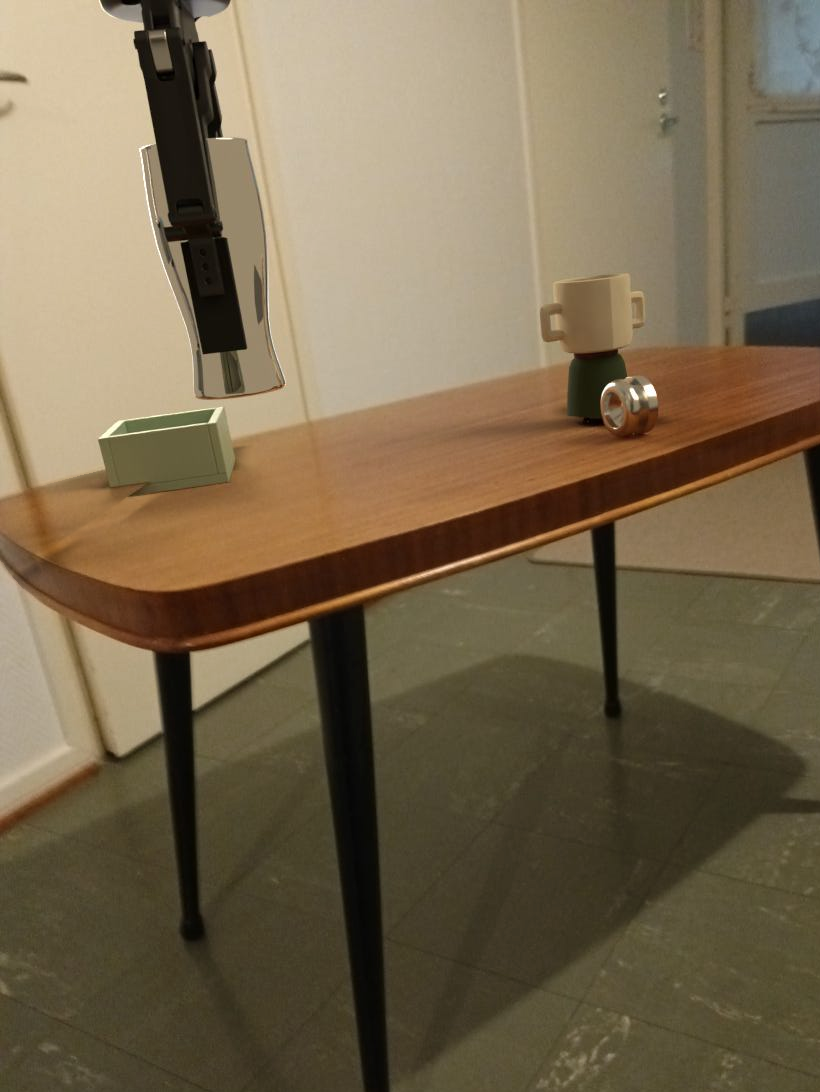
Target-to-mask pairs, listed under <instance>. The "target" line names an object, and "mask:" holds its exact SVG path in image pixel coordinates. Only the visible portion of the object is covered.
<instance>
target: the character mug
mask: <svg viewBox="0 0 820 1092" xmlns="http://www.w3.org/2000/svg"><path fill="white" fill-rule="evenodd" d="M552 286H553V287H552V292H553V303H547V304H544V305H542V306H541V307H540V309H539V322H540V333H541V338H542V341H543V342H546V343H553V342H557V345H558V347H559V349H560V350H561V351H562V352H566V353H568V354H573V358H572V360H570V364H569V367H568V377H567V378H568V379H567V395H566V416H567V417H574V418H575V417H576V418H583V421H584V422H585V423H588V422H587V421H589V422H590V421H591V419H603V418H602V415H601V407H600V403H601V395H602V392H603V390H604V388H605V386H606V385H607V384H608V383H609V382H611V381H613V380H616V379H623V380H624V379H625V378H627V377H628V373H627V367H626V361H625V360H624V358H623V357H622V354H620V353H619V350H620V349H624V348H626V347H628V346H631V344H632V341H633V335H634V330H635V329H640V328H642V327H643V326H645V323H646V320H647V317H646V316H647V315H646V297H645V295H644V292H643V291H639V290H636V291H635V290H634V291H632V289H631V275H630V273H611V274H598V275H587V276H586V275H585V276H580V277H579V276H578V277H573V278H565V279H561V280H557V281H554V282H553V285H552ZM632 303H633V304H634V314H635V317H633V309H632V308H633V307H632ZM551 316H554V321H555V323H554V324H555V329H553V330H552V326H551V325H552V324H551Z"/></svg>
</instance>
